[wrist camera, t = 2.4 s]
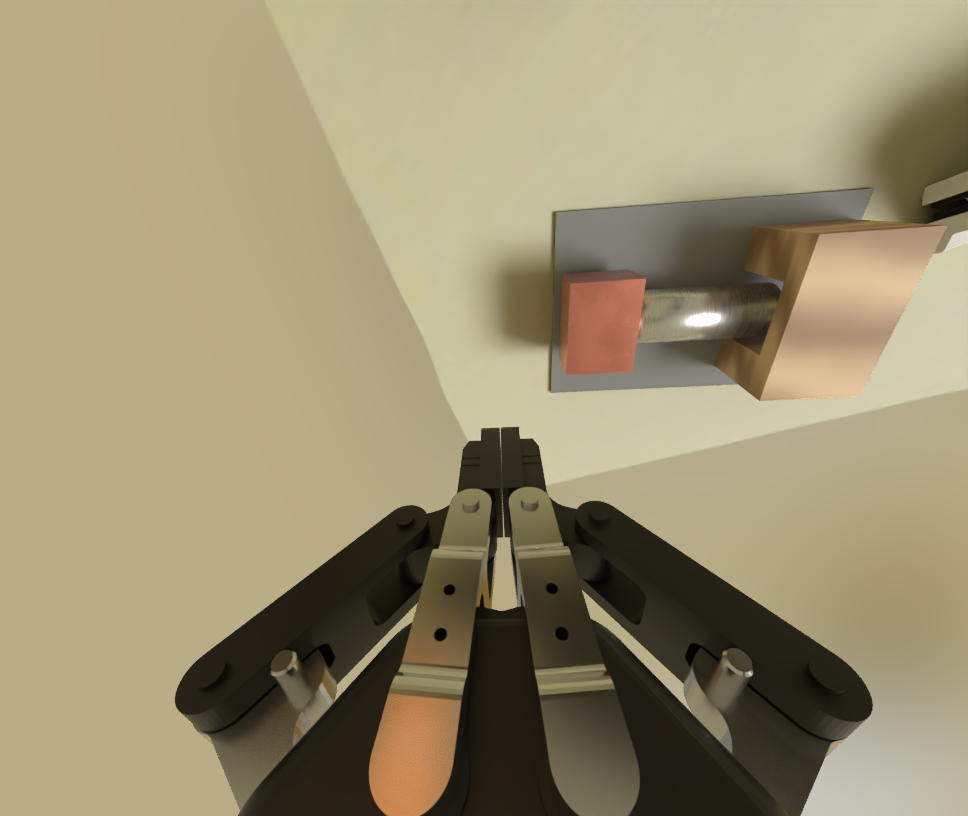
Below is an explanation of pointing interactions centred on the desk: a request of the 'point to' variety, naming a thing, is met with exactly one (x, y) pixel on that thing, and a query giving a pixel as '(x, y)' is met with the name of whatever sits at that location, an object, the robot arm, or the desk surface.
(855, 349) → the wooden block
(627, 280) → the pin
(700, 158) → the desk surface
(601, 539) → the robot arm
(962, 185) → the white rounded piece
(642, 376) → the mat
